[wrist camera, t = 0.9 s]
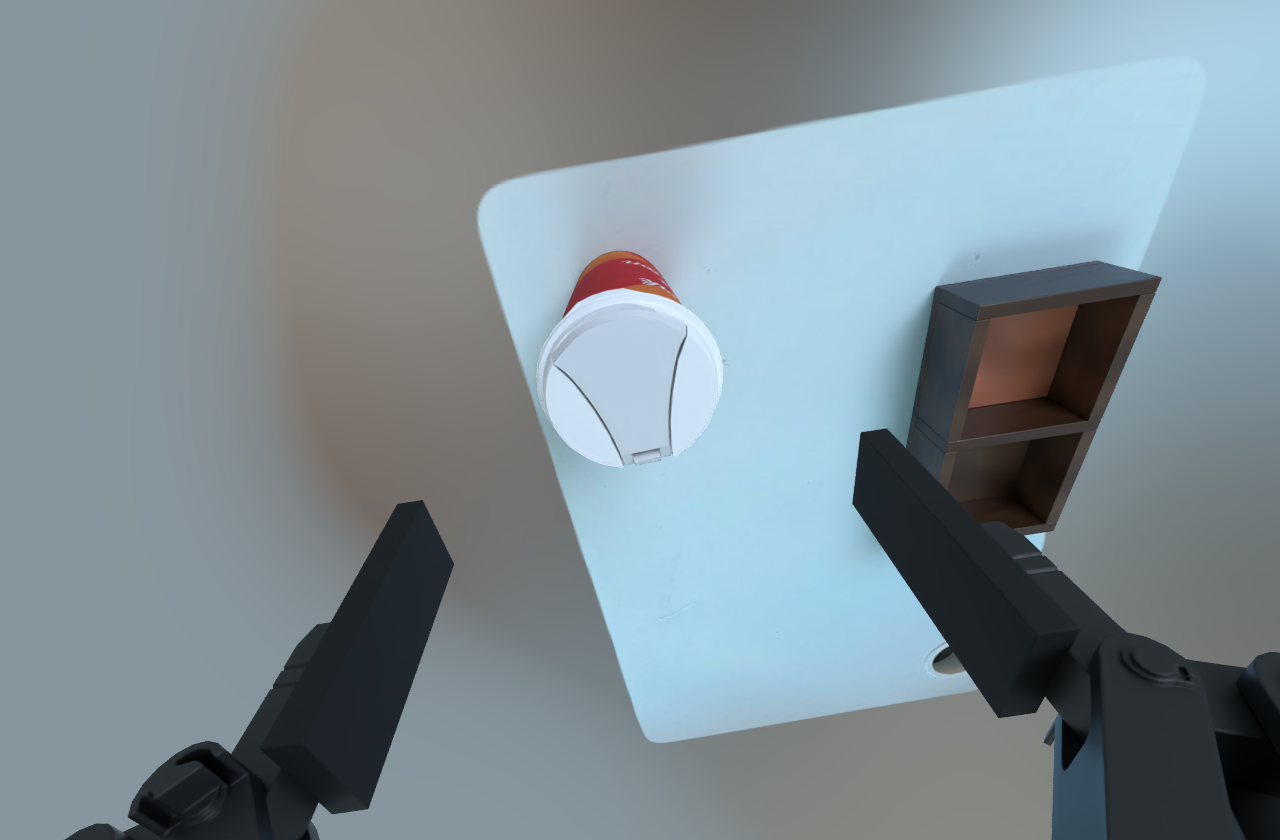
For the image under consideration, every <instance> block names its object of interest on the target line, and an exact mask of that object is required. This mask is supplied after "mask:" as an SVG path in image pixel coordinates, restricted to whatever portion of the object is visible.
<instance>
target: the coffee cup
mask: <svg viewBox="0 0 1280 840" xmlns="http://www.w3.org/2000/svg"><path fill="white" fill-rule="evenodd" d="M722 382H723V364H722V360H721V355H720V351H719V349H718V346H717V344H716V342H715V339H714V337H713V336H712V334H711V333H710V331H709V330H708V328H707V327H706V325H705V324H704V323H703V322H702V321H701V320H700V319H699V318H698V317H697V316H696V315H695V314H694V313H692V312H691V311H690V310H688V309H687V308H686V307H684V306H682V304H681V303H680V301H679V300H678V298H677V297H676V295H675V294H674V293H673V291H672V290H671V288H670V287H669V285H668V284H667V283H666V281H665V280H664V278H663V277H662V276H661V274H660V273H659V272H658V270H657V269H656V268H655V267H654V266H653V265H652V264H651V263H650V262H649V261H648V260H646V259H645V258H643V257H642V256H640V255H638V254H635V253H632V252H627V251H614V252H609V253H606V254H603V255H601V256H599V257H597V258H596V259H594V260H593V261H592V262H591V263H590V264H589V265H588V266H587V267H586V268H585V270H584V271H583V273H582V274H581V276H580V278H579V280H578V282H577V284H576V287H575V289H574V291H573V294H572V296H571V299H570V301H569V303H568V306H567V308H566V311H565V313H564V316H563V318H562V320H561V321H560V322H559V323H558V324H557V325H556V326H555V327H554V329H553V330H552V331H551V333H550V334H549V336H548V337H547V339H546V341H545V343H544V345H543V347H542V350H541V352H540V356H539V360H538V363H537V371H536V385H537V393H538V397H539V401H540V404H541V407H542V409H543V411H544V413H545V415H546V417H547V418H548V420H549V421H550V423H551V424H552V426H553V427H554V429H555V430H556V432H557V433H558V434H559V436H560V437H561V438H562V439H563V440H564V441H565V442H566V443H567V444H568V446H570V447H571V448H572V449H574V450H575V451H576V452H578V453H579V454H581V455H582V456H584V457H586V458H588V459H590V460H592V461H595V462H597V463H600V464H603V465H608V466H612V467H620V468H624V463H625V464H626V465H628V464H633V463H635V465H636V466H637V465H641V464H646V463H651V462H656V461H660V460H661V458H662V457H665V456H670V455H671V453H673V457H675V456H676V455H678V454H680V453H681V452H683V451H684V450H686V449H687V448H688V447H689V446H691V445H692V444H693V443H694V442H695V441H696V440H697V439H698V438H699V437H700V435H701V434H702V433H703V431H704V430H705V429H706V427H707V426H708V424H709V422H710V420H711V418H712V416H713V413H714V410H715V408H716V405H717V403H718V400H719V397H720V394H721V390H722Z"/></svg>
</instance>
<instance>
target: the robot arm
mask: <svg viewBox="0 0 1280 840" xmlns="http://www.w3.org/2000/svg"><path fill="white" fill-rule="evenodd" d="M852 504H853V505H854V507H855V508H856V510H857V511H858V513H859V514H860V515H861V517H862V518H863V520H864V521H865V523H866V524H867V526H868V527H869V529H870V530H871V532H872V533H873V535H874V536H875V537H876V539H877V540H878V542H879V543H880V545H881V546H882V548H883V549H884V551H885V552H886V554H887V555H888V557H889V558H890V560H891V561H892V562H893V564H894V565H895V567H896V568H897V570H898V571H899V573H900V574H901V576H902V577H903V579H904V580H905V582H906V583H907V585H908V586H909V587H910V589H911V590H912V592H913V593H914V595H915V596H916V598H917V599H918V601H919V602H920V604H921V605H922V607H923V608H924V609H925V611H926V612H927V614H928V615H929V617H930V618H931V620H932V621H933V623H934V624H935V626H936V627H937V629H938V630H939V632H940V633H941V634H942V636H943V637H944V639H945V640H946V642H947V643H948V645H949V646H950V648H951V649H952V651H953V652H954V654H955V655H956V657H957V658H958V659H959V661H960V662H961V664H962V665H963V667H964V668H965V670H966V671H967V673H968V674H969V676H970V677H971V679H972V680H973V681H974V683H975V684H976V686H977V687H978V689H979V690H980V692H981V693H982V695H983V696H984V698H985V699H986V701H987V702H988V703H989V705H990V706H991V708H992V709H993V711H994V712H995V714H996V715H997V717H998V718H1002V717H1010V716H1017V715H1024V714H1031V713H1036V712H1037V710H1038V708H1039V706H1040V704H1041V702H1042V701H1043V699H1044V697H1046V698H1047V699H1048V700H1049V702H1050V703H1051V704H1052V705H1053V707H1054V708H1055V709H1056V711H1057V712H1058V713H1059V714H1058V716H1057V717H1056V719H1055V721H1054V722H1053V724H1052V726H1051V727H1050V729H1049V731H1048V733H1047V735H1046V737H1045V740H1044V743H1046V744H1048V745H1050V746H1051V744H1052V743H1053V741H1054V740H1055V744H1054V777H1053V780H1054V781H1053V813H1052V814H1053V815H1052V840H1280V653H1276V652H1269V653H1265V654H1262V655H1259V656H1257V657H1256V658H1255V659H1254V660H1253V661H1252V663H1251V664H1250V665H1249V666H1248V667H1247V668H1242V667H1235V666H1228V665H1221V664H1214V663H1207V662H1200V661H1192V660H1188V659H1185V658H1183V657H1182V656H1181V655H1179V654H1178V653H1176V652H1174V651H1173V650H1172V649H1170V648H1169V647H1167V646H1166V645H1163V644H1161V643H1159V642H1156V641H1154V640H1152V639H1150V638H1147V637H1144V636H1140V635H1135V634H1131V633H1127V632H1126V631H1125V630H1124V629H1122V628H1121V627H1120V626H1119V625H1118V624H1117V623H1116V622H1114V621H1113V620H1112V619H1111V618H1110V617H1109V616H1108V615H1107V614H1106V613H1105V612H1104V611H1103V610H1102V609H1101V608H1100V607H1099V606H1097V604H1095V603H1094V602H1093V601H1092V600H1091V599H1090V598H1089V597H1088V596H1087V595H1086V594H1085V593H1084V592H1083V591H1082V590H1081V589H1080V588H1079V587H1077V586H1076V585H1075V584H1074V583H1073V582H1072V581H1071V580H1070V579H1069V578H1068V577H1067V576H1066V575H1065V574H1064V573H1063V572H1062V571H1058V570H1057V567H1056V566H1055V565H1054V564H1053V563H1052V562H1051V561H1050V560H1049V559H1048V558H1047V557H1046V556H1042V554H1041V553H1042V552H1041V551H1039V550H1038V549H1037V548H1036V547H1035V546H1034V545H1033V544H1032V543H1031V542H1030V541H1029V540H1028V539H1027V538H1026V537H1025V536H1024V535H1022V534H1021V533H1019V532H1017V531H1015V530H1014V529H1012V528H1010V527H1008V526H1007V525H1005V524H1003V523H1001V522H1000V521H992V522H986V523H978V522H977V521H976V520H975V519H974V518H973V517H972V516H971V515H970V514H969V513H968V511H967V510H966V509H965V508H964V507H963V506H962V505H961V504H960V503H959V502H958V501H957V500H956V499H955V498H954V497H953V496H952V495H951V494H950V493H949V492H948V491H947V490H946V489H945V488H944V487H943V486H942V485H941V484H940V483H939V482H938V481H937V480H936V479H935V478H934V477H933V476H932V475H931V474H930V472H929V471H928V470H927V469H926V468H925V467H924V466H923V465H922V464H921V463H920V462H919V461H918V460H917V459H916V458H915V457H914V456H913V455H912V454H911V453H910V452H909V451H908V450H907V449H906V448H905V447H904V446H903V445H902V444H901V443H900V442H899V441H898V440H897V439H896V438H895V437H894V436H893V435H892V433H891V432H890V431H889V430H888V429H880V430H874V431H867V432H861V434H860V443H859V451H858V460H857V468H856V477H855V486H854V494H853V503H852ZM453 566H454V563H453V561H452V559H451V557H450V555H449V553H448V551H447V549H446V547H445V545H444V543H443V541H442V539H441V536H440V535H439V532H438V530H437V528H436V526H435V525H434V522H433V520H432V518H431V516H430V514H429V512H428V510H427V508H426V506H425V504H424V502H423V500H420V501H414V502H407V503H401V504H397V506H396V508H395V509H394V511H393V513H392V515H391V516H390V518H389V520H388V522H387V524H386V525H385V527H384V529H383V531H382V532H381V534H380V536H379V538H378V539H377V541H376V543H375V545H374V547H373V549H372V550H371V552H370V554H369V555H368V557H367V559H366V561H365V563H364V564H363V566H362V568H361V570H360V571H359V573H358V575H357V577H356V579H355V580H354V582H353V584H352V586H351V588H350V589H349V591H348V593H347V595H346V596H345V598H344V600H343V602H342V603H341V605H340V607H339V609H338V611H337V612H336V614H335V616H334V618H333V619H332V621H331V622H330V623H323V624H317V625H316V626H315V627H314V628H313V629H312V630H311V631H310V632H309V633H308V635H306V636H305V637H304V638H303V639H302V640H301V642H300V643H299V644H298V645H297V646H296V648H295V649H294V651H293V653H292V654H291V656H290V658H289V659H288V661H287V663H286V664H285V666H284V671H281V673H280V674H279V676H278V678H277V679H276V681H275V683H274V684H273V689H272V690H270V691H269V693H268V694H267V696H266V697H265V699H264V701H263V703H262V704H261V706H260V707H259V709H258V711H257V712H256V714H255V716H254V717H253V719H252V721H251V722H250V724H249V726H248V727H247V729H246V731H245V732H244V734H243V735H242V737H241V739H240V740H239V742H238V744H237V745H236V747H235V749H234V750H233V752H232V754H230V753H229V752H228V751H227V750H225V749H224V748H223V747H222V746H221V745H220V744H218V743H215V742H210V741H205V742H201V743H197V744H194V745H191V746H190V747H188V748H186V749H184V750H182V751H180V752H178V753H177V754H175V755H174V756H173V757H171V758H170V759H169V760H167V762H165V763H164V764H162V765H161V766H160V767H159V768H158V769H157V770H156V771H155V772H154V773H153V774H152V775H151V776H150V777H149V778H148V779H147V781H146V782H145V783H144V784H143V785H142V787H141V788H140V790H139V791H138V793H137V795H136V796H135V798H134V799H133V801H132V804H131V807H130V811H129V814H128V818H130V819H131V820H133V821H135V822H136V823H138V824H139V825H137V826H135V827H133V828H131V829H128V830H126V831H124V832H121V831H119V830H118V829H116V828H115V827H113V826H111V825H109V824H94V825H91V826H89V827H86V828H84V829H81V830H79V831H77V832H76V833H74V834H73V835H71V836H70V837H68V838H67V839H65V840H319V836H318V832H317V829H316V828H315V826H314V825H313V823H312V822H311V819H312V816H313V814H314V812H315V809H316V807H317V805H318V802H319V803H320V804H321V805H323V806H324V807H325V808H326V809H327V810H328V811H329V812H330V813H331V814H337V813H345V812H351V811H358V810H365V809H368V808H369V805H370V802H371V800H372V797H373V794H374V791H375V788H376V785H377V782H378V780H379V777H380V774H381V771H382V768H383V765H384V763H385V760H386V757H387V754H388V751H389V748H390V745H391V742H392V740H393V737H394V734H395V731H396V728H397V725H398V723H399V720H400V717H401V714H402V711H403V708H404V705H405V703H406V700H407V697H408V694H409V691H410V688H411V685H412V683H413V680H414V677H415V674H416V671H417V668H418V665H419V663H420V660H421V657H422V654H423V651H424V648H425V646H426V643H427V640H428V637H429V634H430V631H431V629H432V626H433V623H434V620H435V617H436V614H437V611H438V609H439V605H440V603H441V600H442V597H443V594H444V591H445V589H446V586H447V583H448V580H449V577H450V574H451V571H452V569H453Z"/></svg>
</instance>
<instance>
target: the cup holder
mask: <svg viewBox="0 0 1280 840" xmlns="http://www.w3.org/2000/svg"><path fill="white" fill-rule="evenodd" d="M1161 279H1162V278H1161V277H1158V276H1154V275H1150V274H1147V273H1143V272H1139V271H1135V270H1131V269H1127V268H1123V267H1119V266H1115V265H1112V264H1108V263H1104V262H1100V261H1093V262H1087V263H1081V264H1074V265H1068V266H1062V267H1055V268H1049V269H1043V270H1036V271H1030V272H1024V273H1018V274H1011V275H1005V276H999V277H992V278H986V279H980V280H974V281H967V282H961V283H955V284H948V285H942V286H937V287H936V291H935V296H934V302H933V307H932V312H931V318H930V323H929V329H928V334H927V339H926V345H925V350H924V356H923V361H922V366H921V372H920V377H919V383H918V388H917V393H916V399H915V404H914V410H913V415H912V420H911V426H910V431H909V437H908V442H907V447H906V449H907V450H908V451H909V452H910V453H911V454H912V455H913V456H914V457H915V458H916V459H917V460H918V461H919V462H920V463H921V464H922V465H923V466H924V467H925V468H926V469H927V470H928V471H929V472H930V474H931V475H932V476H933V477H934V478H935V479H936V480H937V481H938V482H939V483H940V484H941V485H942V486H943V487H944V488H945V489H946V490H947V491H948V492H949V493H950V494H951V495H952V496H953V497H954V498H955V499H956V500H957V501H958V502H959V503H960V504H961V505H962V506H963V507H964V508H965V509H966V510H967V511H968V513H969V514H970V515H971V516H972V517H973V518H974V519H975V520H976V521H977V522H978V523H986V522H992V521H1000V522H1001V523H1003V524H1005V525H1007V526H1008V527H1010V528H1012V529H1014V530H1015V531H1017V532H1019V533H1021V534H1022V535H1030V534H1036V533H1043V532H1049V531H1053V530H1054V528H1055V526H1056V523H1057V521H1058V519H1059V517H1060V514H1061V512H1062V509H1063V507H1064V505H1065V503H1066V500H1067V498H1068V496H1069V493H1070V491H1071V489H1072V486H1073V484H1074V482H1075V479H1076V477H1077V475H1078V472H1079V470H1080V468H1081V465H1082V463H1083V461H1084V459H1085V456H1086V454H1087V452H1088V449H1089V447H1090V444H1091V442H1092V440H1093V437H1094V435H1095V433H1096V429H1097V428H1098V425H1099V423H1100V421H1101V418H1102V417H1103V414H1104V412H1105V410H1106V407H1107V405H1108V403H1109V400H1110V398H1111V395H1112V393H1113V391H1114V389H1115V386H1116V384H1117V382H1118V379H1119V377H1120V375H1121V372H1122V370H1123V368H1124V366H1125V363H1126V361H1127V358H1128V356H1129V354H1130V352H1131V349H1132V347H1133V345H1134V342H1135V340H1136V338H1137V335H1138V333H1139V330H1140V328H1141V326H1142V324H1143V321H1144V319H1145V317H1146V314H1147V312H1148V310H1149V307H1150V305H1151V303H1152V300H1153V298H1154V296H1155V293H1154V292H1156V290H1157V288H1158V286H1159V283H1160V281H1161Z"/></svg>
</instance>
